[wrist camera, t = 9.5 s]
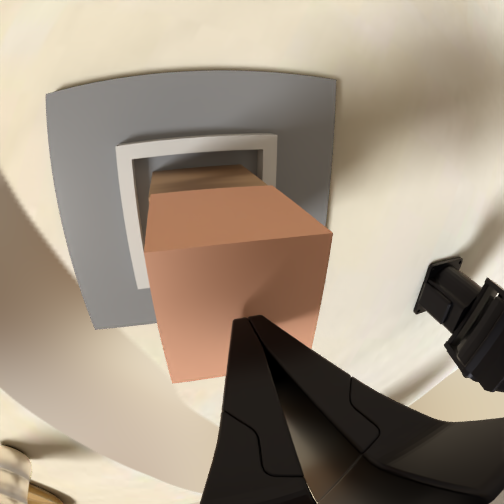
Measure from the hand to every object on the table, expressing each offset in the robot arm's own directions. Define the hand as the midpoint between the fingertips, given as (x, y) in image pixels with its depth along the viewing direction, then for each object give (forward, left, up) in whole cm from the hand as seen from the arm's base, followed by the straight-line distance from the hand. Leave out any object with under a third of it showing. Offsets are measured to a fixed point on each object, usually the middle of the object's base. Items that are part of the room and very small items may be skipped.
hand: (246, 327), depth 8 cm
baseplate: (0, 0, -11) cm, 11 cm away
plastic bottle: (+34, +33, -11) cm, 49 cm away
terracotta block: (0, 0, -5) cm, 5 cm away
